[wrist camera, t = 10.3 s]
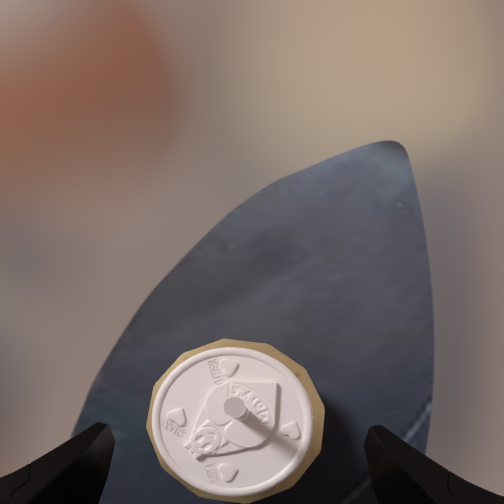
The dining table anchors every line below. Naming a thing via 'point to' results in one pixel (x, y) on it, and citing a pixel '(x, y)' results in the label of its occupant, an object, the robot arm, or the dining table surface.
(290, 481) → the collar
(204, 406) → the smoothie
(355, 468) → the dining table surface
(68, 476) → the robot arm
